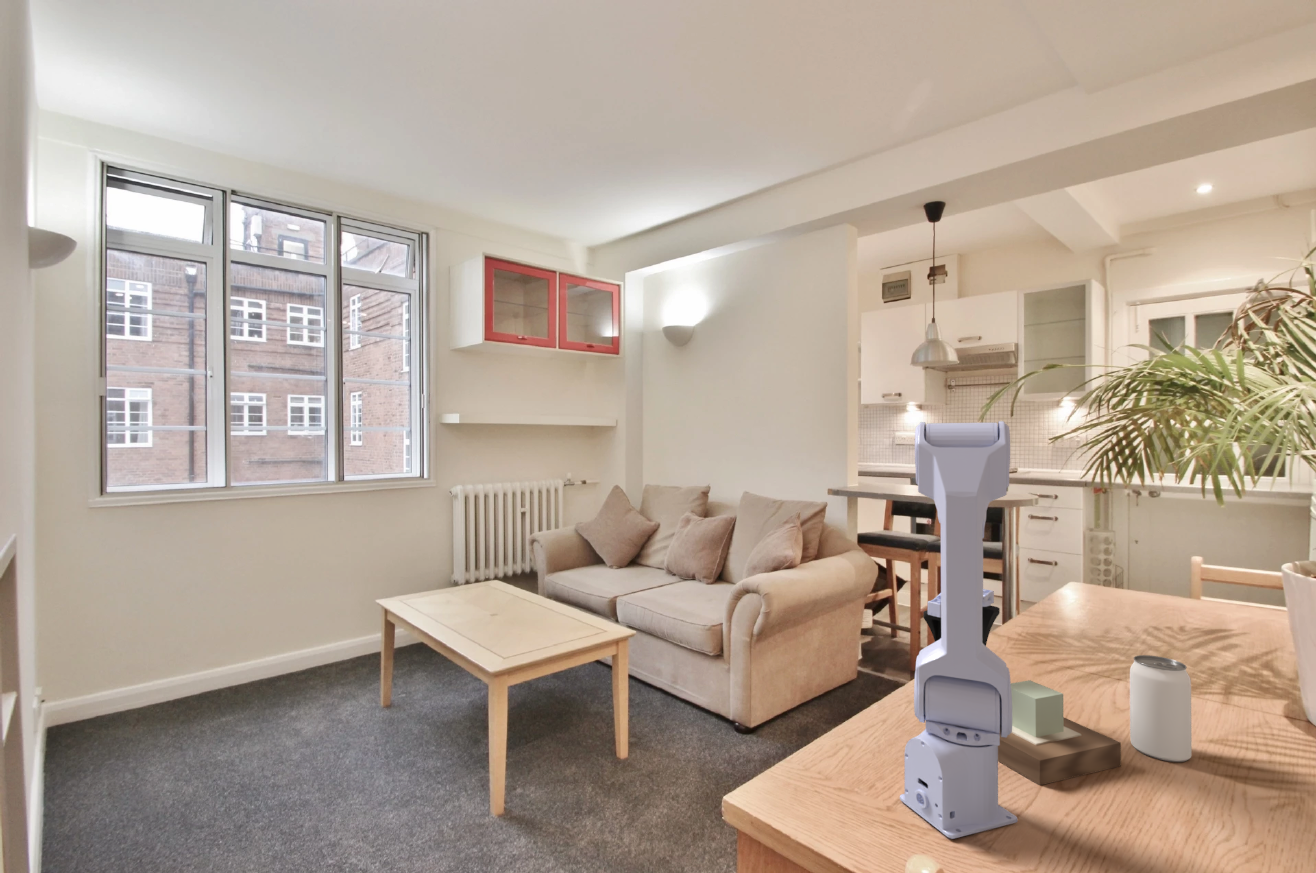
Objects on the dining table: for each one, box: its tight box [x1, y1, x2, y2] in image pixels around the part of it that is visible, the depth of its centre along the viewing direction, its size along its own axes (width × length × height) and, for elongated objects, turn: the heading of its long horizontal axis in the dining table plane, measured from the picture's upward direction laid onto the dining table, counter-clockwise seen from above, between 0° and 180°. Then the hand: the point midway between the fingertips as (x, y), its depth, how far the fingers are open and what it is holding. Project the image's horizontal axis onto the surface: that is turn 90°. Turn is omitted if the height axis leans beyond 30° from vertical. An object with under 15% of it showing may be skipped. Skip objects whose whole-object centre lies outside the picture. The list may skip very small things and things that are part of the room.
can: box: [1129, 654, 1193, 763], centre depth 84 cm, size 6×6×12 cm
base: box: [998, 716, 1122, 786], centre depth 85 cm, size 14×14×3 cm
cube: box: [1011, 679, 1064, 737], centre depth 85 cm, size 5×5×5 cm
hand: (962, 657), depth 94 cm, fingers open, 7 cm apart
